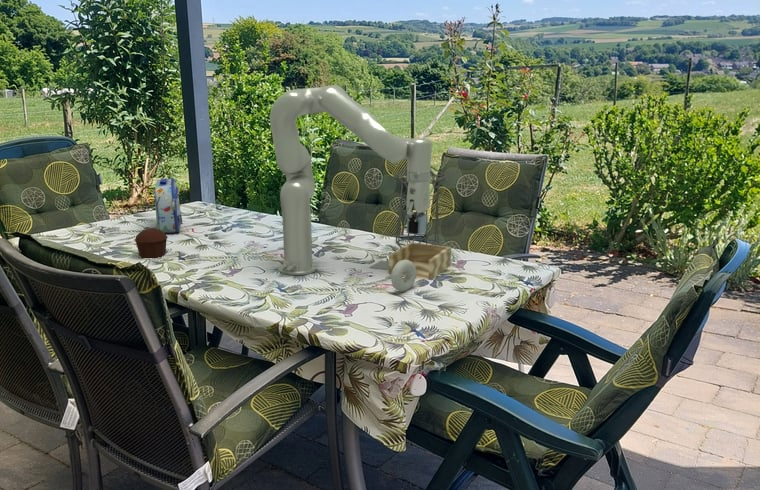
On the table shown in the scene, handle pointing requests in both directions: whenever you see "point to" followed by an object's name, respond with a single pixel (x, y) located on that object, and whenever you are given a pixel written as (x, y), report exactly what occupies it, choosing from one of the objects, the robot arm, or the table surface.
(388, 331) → the table surface
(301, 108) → the robot arm
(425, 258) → the box
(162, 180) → the lunch box
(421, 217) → the block
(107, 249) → the table surface
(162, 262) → the table surface
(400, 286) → the donut
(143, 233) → the muffin
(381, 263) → the coaster
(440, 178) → the geometric lantern
